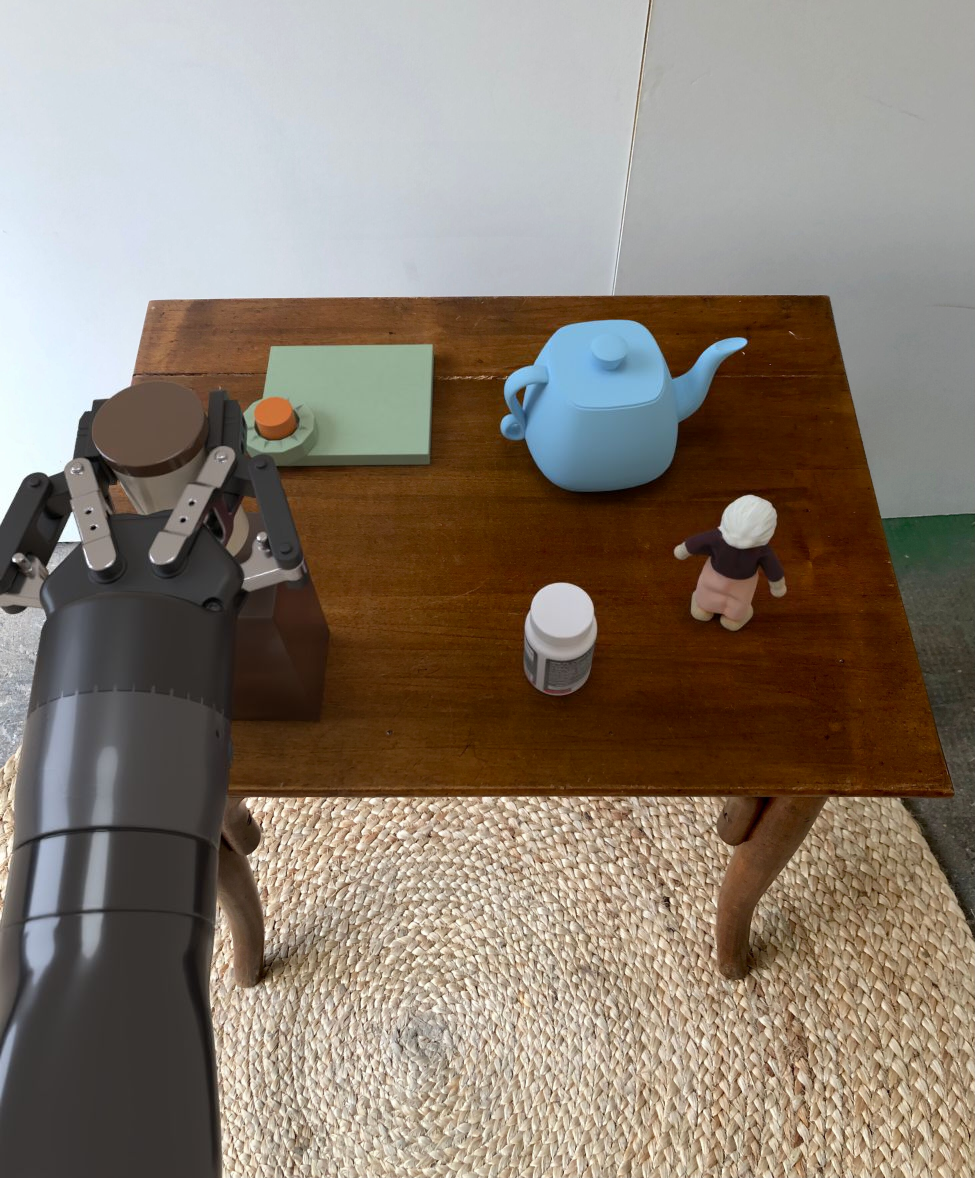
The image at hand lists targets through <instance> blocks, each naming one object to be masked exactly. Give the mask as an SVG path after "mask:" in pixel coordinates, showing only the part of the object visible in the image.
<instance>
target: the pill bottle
mask: <svg viewBox="0 0 975 1178" xmlns="http://www.w3.org/2000/svg"><path fill="white" fill-rule="evenodd" d="M530 604H531V605H530V610H529V611H528V613H527V615H526V618H525V621H524V622H525V623H524V629H523V630H524V641H523V669H524V674H525V676H526V678H527V680H528V681H529V683H530V684H531V685H532V686H533V687H534V688H535V689H537V690H538V691H540V692H542V693H544V694H547V695H549V696H564V695H569V694H572V693H574V692H576V691H577V690H578V689H580V688H581V687H582V686H583V685H584V684H585V683H586V681H587V680H588V678H589V675H590V673H591V668H592V663H593V657H594V653H595V646H596V642H597V641H596V640H597V634H598V624H597V619H596V615H595V608H594V603H593V601H592V599H591V597H590V595H589V594H588V593H587V592H586V591H585V590H583V589H582V588H581V587H579V586H577V585H575V584H573V583H569V582H555V583H550V584H548V585H545V586H544V587H542V588H541V589H540V590H539V591H537V593H536V594H535V595H534V597H533V598H532V600H531V603H530Z"/></svg>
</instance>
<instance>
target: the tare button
mask: <svg viewBox="0 0 975 1178" xmlns="http://www.w3.org/2000/svg"><path fill="white" fill-rule="evenodd" d="M254 417H255V420H256V423H257V426H258V429H259V431H260V433H261V435H262V436H264V437H265V438H267V439H270V440H281V439H284V438H286V437H288V436H290V435H291V434H292V433H293V432H294V430H295V428H296V419H295V415H294V412H293V408H292V406H291V404H290V403H289V402H288V401H287V400H286V399H284V398H280V397H271V398H267V399H265V400H263V401H261V402H260V403H259V404H258V405H257V406H256V408H255V410H254Z"/></svg>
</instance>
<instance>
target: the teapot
mask: <svg viewBox="0 0 975 1178" xmlns="http://www.w3.org/2000/svg"><path fill="white" fill-rule="evenodd" d="M747 344H748V340H747V339H746V338H744V337H730V338H724V339H722V340H719V341H716V342H715V343H713V344H712V345H710V346H709V347H707V348H706V349H705V350H704V351H703V352H702V354H700V356H699V357H698V358H697V360H696V362H695V363H694V365H693V366H692V367H691V368H690V369H689V370H688V371H687V372H685V373H684V374H682V375H680V376H678V377H675V378H672V375H671V373H670V369H669V367H668V364H667V362H666V359H665V357H664V355H663V353H662V350H661V348H660V347H659V345H658V343H657V341H656V339H655V338H654V336H653V334H652V333H651V332H650V331H649V329H648V328H647V327H646V326H644V325H643V324H641V323H639V322H637V321H634V320H630V319H629V320H628V319H604V320H592V321H583V322H577V323H571V324H567V325H564V326H562V327H560V328H558V329H557V330H556V331H555V332H554V333H553V334H552V336H551V337H550V338H549V339H548V340H547V342H546V343H545V345H544V347H543V348H542V349H541V350H540V352H539V355H538V356H537V357H536V360H535V361H534V363H533V365H528V366H524V367H521V368H520V369H517V370H515V371H514V372H513V373H511V374H510V375H509V377H508V378H507V379H506V381H505V384H504V386H503V387H504V388H503V394H504V399H505V402H506V405H507V407H508V410H509V411H510V412H511V414H507V415H505V416H504V417H503V418H502V420H501V421H500V426H499V427H500V432H501V434H502V435H503V437H505V438H506V439H507V440H511V441H521V440H524V439H525V441H526V444H527V447H528V450H529V452H530V454H531V457H532V459H533V460H534V462H535V464H536V466H537V467H538V469H539V470H540V471H541V472H542V474H543V475H544V476H545V478H547V480H549V481H550V482H551V483H552V484H554V485H556V486H557V487H559V488H561V489H563V490H566V491H570V492H579V493H580V492H582V493H588V492H589V493H591V492H592V493H593V492H594V493H595V492H610V491H618V490H623V489H630V488H635V487H638V486H641V485H645V484H648V483H649V482H651V481H653V480H656V479H657V478H659V477H660V476H661V475H663V474H664V473H665V472H666V470H667V469H668V468H669V467H670V466H671V464H672V461H673V459H674V455H675V452H676V446H677V441H678V434H679V433H678V432H679V431H678V429H679V423H680V422H683V421H684V420H686V419H687V418H689V417H690V416H691V415H693V414H694V413H696V411H698V409H699V408H700V407H701V406H702V404H703V402H704V401H705V399H706V397H707V394H708V392H709V389H710V387H711V384H712V381H713V378H714V375H715V373H716V372H717V370H718V368H719V366H720V365H721V363H722V362H723V361H724V360H726V359H727V358H728V357H729V356H731V355H733V354H734V353H736V352H738V351H739V350H742V349H743V348H744V347H746V345H747ZM525 387H526V388H525ZM523 388H525V392H524V395H523V396H524V397H523V403H522V406H521V404H520V402H519V400H518V398H517V393H518V392H519V391H520V390H522V389H523Z"/></svg>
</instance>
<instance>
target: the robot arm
mask: <svg viewBox="0 0 975 1178" xmlns="http://www.w3.org/2000/svg"><path fill="white" fill-rule="evenodd" d="M110 398H111V397H109V398H108V397H107V398H98V399H93V401H92V403H91V404H92V405H91V410H85V411H83V413H82V414H81V416H80V418H79V420H78V425H77V431H76V437H75V442H74V448H73V455H72V459H71V460H70V461H68V462H67V463H66V464H65V466H64V468H63V470H62V471H60V472H58V473H55V474H52V475H49V476H48V475H47V474H46V473H44V472H41V471H36V472H31V473H30V474H27V475H26V476H25V477H24V478H23V479H22V481H21V483H20V486H19V487H18V489H17V490H16V492H15V495H14V497H13V499H12V501H11V503H10V505H9V506H8V509H7V511H6V512H5V515H4V517H3V519H2V521H1V523H0V609H2V610H3V612H4V613H6V614H8V615H18V614H21V613H23V612H24V611H26V609H27V608H34V609H41V610H43V612H44V613H45V621H44V623H43V625H42V627H41V629H40V635H39V642H38V647H37V654H36V658H35V665H34V670H33V676H32V683H31V689H30V695H29V699H28V700H29V702H28V705H27V706H28V707H27V713H26V719H25V726H24V731H23V736H22V742H21V747H20V748H21V749H20V755H19V761H18V765H17V766H18V767H17V772H16V777H15V778H16V779H15V787H14V799H13V801H14V802H13V824H14V825H13V841H12V848H11V851H12V852H11V853H12V855H11V857H10V862H9V868H8V869H9V870H8V875H7V881H6V886H5V894H4V899H3V906H2V911H1V918H0V1178H223V1139H222V1137H223V1136H222V1120H221V1105H220V1103H221V1102H220V1091H219V1077H218V1063H217V1062H218V1061H217V1051H216V1041H215V1040H216V1039H215V1030H214V1022H213V1013H212V1006H211V988H210V986H211V982H210V981H211V970H212V964H213V956H214V946H215V936H216V935H215V934H216V927H215V926H216V923H217V904H218V902H217V901H218V883H219V882H218V881H219V863H220V854H219V852H220V846H221V837H222V831H223V826H224V820H225V816H226V810H227V805H228V799H229V792H230V791H229V789H230V777H231V776H230V775H231V768H232V764H233V763H234V750H235V747H234V746H235V745H234V742H233V737H232V732H233V731H232V730H233V720H232V711H233V691H234V669H235V648H236V623H237V618H238V615H239V613H240V611H241V609H242V608H243V606H244V605H245V603H246V602H247V600H248V597H249V593H250V591H254V590H257V589H260V588H264V587H267V586H270V585H274V584H277V583H280V582H284V584H285V586H286V587H288V588H289V589H292V590H298V589H302V588H304V587H305V586H306V585H307V584H308V583H309V581H310V576H311V572H310V570H309V567H308V563H307V560H306V556H305V553H304V550H303V547H302V543H301V540H300V537H299V534H298V530H297V526H296V523H295V521H294V518H293V514H292V511H291V507H290V503H289V502H288V501H289V500H288V497H287V494H286V491H285V488H284V486H283V482H282V480H281V477H280V473H279V471H278V468H277V466H276V465H275V462H274V459H273V458H272V457H271V456H269V455H266V454H259V455H256V456H254V457H253V458H252V457H251V456H247V452H248V451H247V429H248V426H247V424H246V421H245V418H244V415H243V413H244V412H243V409H242V408H241V405H240V403H239V401H238V399H231V398H230V395H229V392H228V391H227V389H225V388H224V389H214V390H209V394H208V408H207V417H208V422H209V432H208V437H207V440H206V450H207V452H208V454H209V455H208V457H207V459H206V461H205V463H204V465H203V467H202V469H201V471H200V473H199V475H198V477H197V479H196V481H195V482H194V483H193V482H189V483H188V484H187V485H186V487H185V489H184V491H183V493H182V495H181V497H180V499H179V501H178V503H177V504H176V506H175V508H174V509H167V510H162V511H158V512H155V513H152V514H148V515H140V514H138V513H133V512H132V513H131V512H121V513H117V509H116V507H115V504H114V501H113V498H112V497H113V496H112V495H111V493H110V486H117V485H118V482H119V481H118V479H117V477H116V476H115V474H114V472H113V471H112V469H111V468H110V467H109V466H108V465H107V464H106V463H105V461H104V460H103V459H102V457H101V455H100V454H99V452H98V450H97V449H96V447H95V445H94V442H93V439H92V426H93V421H94V419H95V416H96V414H97V413H98V411H99V409H100V408H101V407H102V406H103V404H104V403H105V402H106V401H107V400H108V399H110ZM245 497H248V498H253V499H256V502H257V506H258V510H259V512H260V513H261V516H262V520H263V523H264V527H265V530H266V532H260V533H258V534H257V536H256V539H255V540H254V542H253V544H252V555H251V557H250V558H249V559H248V560H247V561H246V562H244V563H242V564H239V562H238V561H237V560H236V559H235V558H234V557H233V555H232V554H231V553H230V552H229V551H228V550H227V549H226V546H227V544H228V542H229V540H230V538H231V535H232V533H233V528H234V517H235V515H236V513H237V511H238V509H239V506H240V504H241V503H242V502H243V500H244V498H245ZM72 514H73V517H74V521H75V524H76V529H77V531H78V534H79V538H80V542H78V544H77V545H76V546H75V547H74V548H73V549H72V550H71V551H70V552H69V554H68V555H67V556H65V558H64V559H62V560H61V562H60V563H59V564H58V565H56V567H55V568H54V569H52V571H51V572H49V569H48V565H49V563H50V561H51V558H52V556H53V554H54V552H55V549H56V548H57V545H58V543H59V541H60V539H61V536H62V534H63V532H64V530H65V528H66V526H67V523H68V522H69V519H70V517H71V515H72Z"/></svg>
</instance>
